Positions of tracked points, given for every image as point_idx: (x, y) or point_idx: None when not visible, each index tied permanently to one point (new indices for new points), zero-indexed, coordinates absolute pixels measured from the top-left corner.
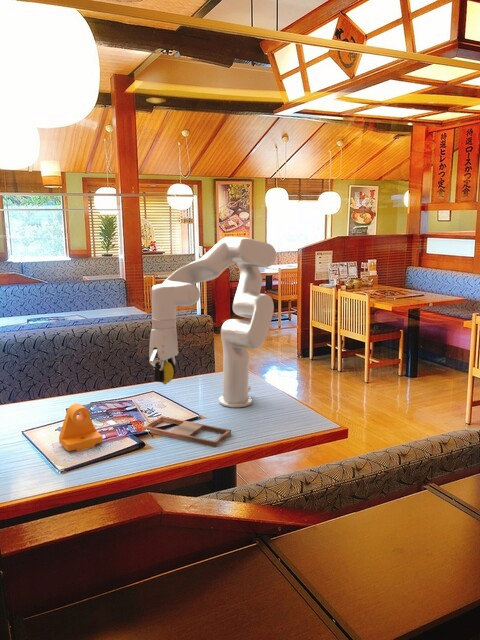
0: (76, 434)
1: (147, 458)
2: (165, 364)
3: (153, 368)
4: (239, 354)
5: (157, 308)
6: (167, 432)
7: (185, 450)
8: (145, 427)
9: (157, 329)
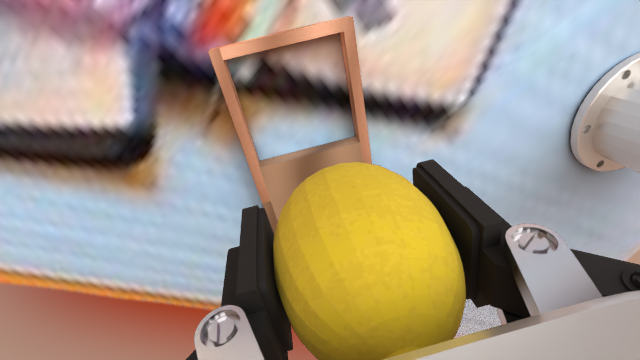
0: None
1: (99, 232)
2: None
3: (198, 330)
4: None
5: None
6: (249, 167)
7: (224, 259)
8: (214, 68)
9: None
